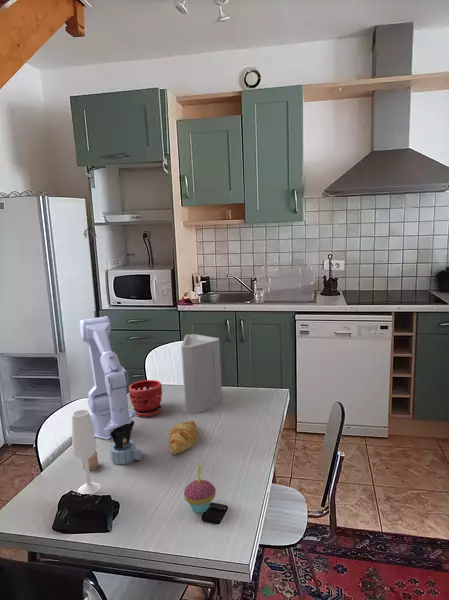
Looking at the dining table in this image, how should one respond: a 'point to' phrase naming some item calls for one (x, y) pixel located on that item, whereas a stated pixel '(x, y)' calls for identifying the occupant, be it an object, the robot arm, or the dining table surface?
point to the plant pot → (146, 397)
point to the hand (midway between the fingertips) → (122, 445)
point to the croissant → (182, 437)
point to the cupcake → (199, 494)
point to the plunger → (124, 442)
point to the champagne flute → (84, 446)
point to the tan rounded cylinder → (92, 461)
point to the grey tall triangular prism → (201, 373)
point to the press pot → (124, 453)
